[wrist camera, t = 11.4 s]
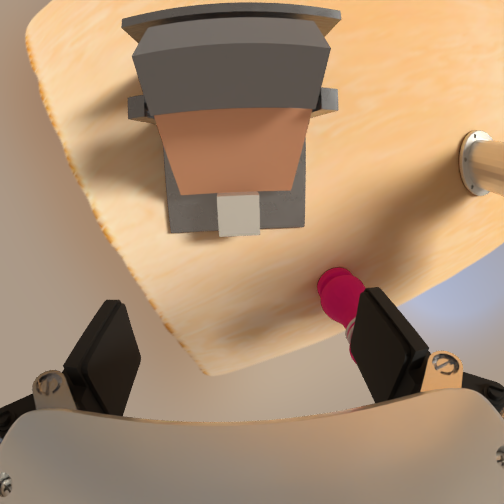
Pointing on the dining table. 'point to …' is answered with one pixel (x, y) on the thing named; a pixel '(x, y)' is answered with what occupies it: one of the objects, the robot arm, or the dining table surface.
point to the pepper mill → (340, 297)
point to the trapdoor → (232, 98)
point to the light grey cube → (238, 213)
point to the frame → (293, 202)
